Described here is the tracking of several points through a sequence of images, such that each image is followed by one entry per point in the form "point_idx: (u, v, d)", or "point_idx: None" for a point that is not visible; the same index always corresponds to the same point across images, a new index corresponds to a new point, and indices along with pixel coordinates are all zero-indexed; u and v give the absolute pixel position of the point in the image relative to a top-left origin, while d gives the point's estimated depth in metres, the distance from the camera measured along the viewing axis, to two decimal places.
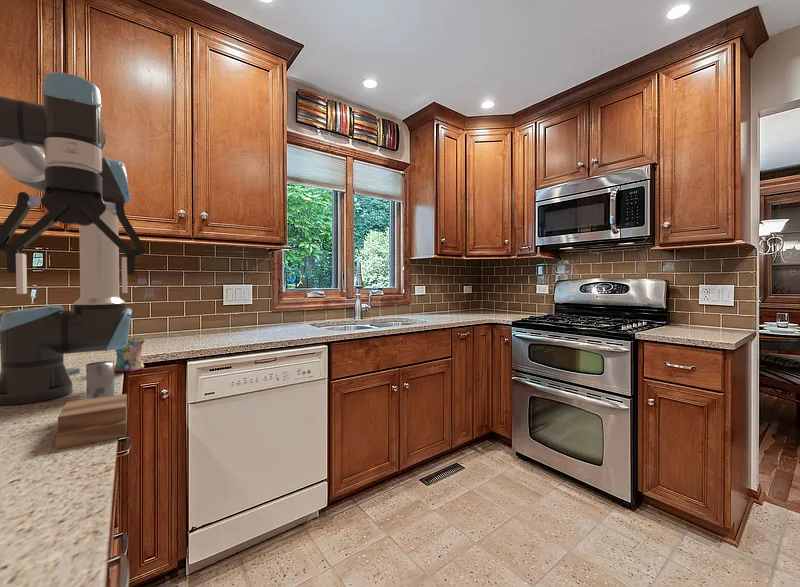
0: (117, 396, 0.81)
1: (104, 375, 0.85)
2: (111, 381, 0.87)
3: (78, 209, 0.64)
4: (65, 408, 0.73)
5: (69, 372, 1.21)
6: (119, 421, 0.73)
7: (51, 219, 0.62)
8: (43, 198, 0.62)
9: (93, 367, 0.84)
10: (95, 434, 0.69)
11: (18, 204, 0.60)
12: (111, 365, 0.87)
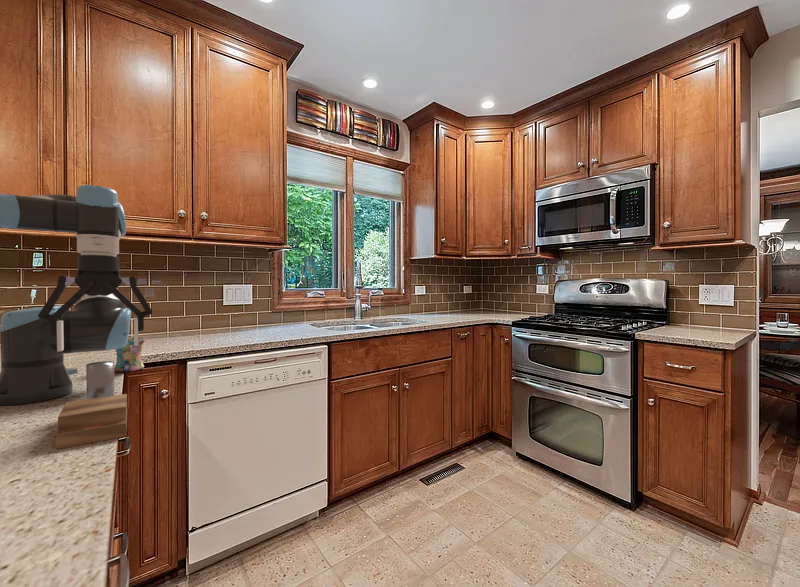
0: (117, 396, 0.81)
1: (104, 375, 0.85)
2: (111, 381, 0.87)
3: (101, 284, 0.86)
4: (65, 408, 0.73)
5: None
6: (119, 421, 0.73)
7: (82, 294, 0.83)
8: (76, 278, 0.83)
9: (93, 367, 0.84)
10: (95, 434, 0.69)
11: (58, 284, 0.81)
12: (111, 365, 0.87)
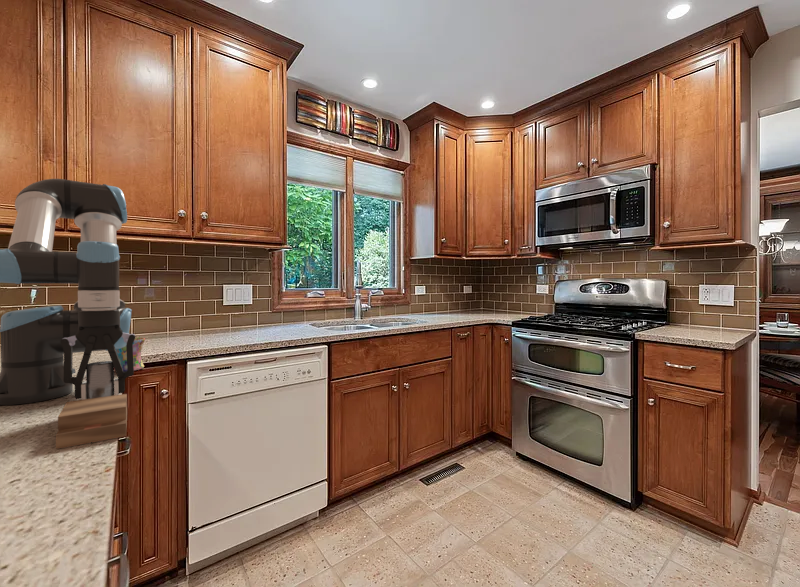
0: (117, 396, 0.81)
1: (104, 375, 0.85)
2: (111, 381, 0.87)
3: (102, 337, 0.86)
4: (65, 408, 0.73)
5: None
6: (119, 421, 0.73)
7: (90, 351, 0.84)
8: (77, 336, 0.83)
9: (93, 367, 0.84)
10: (95, 434, 0.69)
11: (64, 348, 0.82)
12: (111, 365, 0.87)
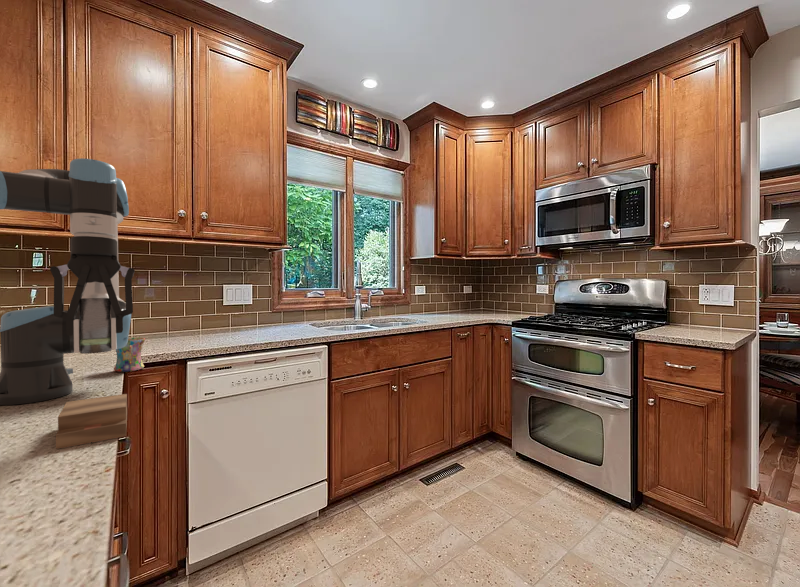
0: (117, 396, 0.81)
1: (100, 310, 0.76)
2: (107, 318, 0.77)
3: (97, 268, 0.77)
4: (65, 408, 0.73)
5: None
6: (119, 421, 0.73)
7: (84, 282, 0.75)
8: (69, 264, 0.74)
9: (87, 300, 0.75)
10: (95, 434, 0.69)
11: (54, 277, 0.73)
12: (107, 300, 0.77)
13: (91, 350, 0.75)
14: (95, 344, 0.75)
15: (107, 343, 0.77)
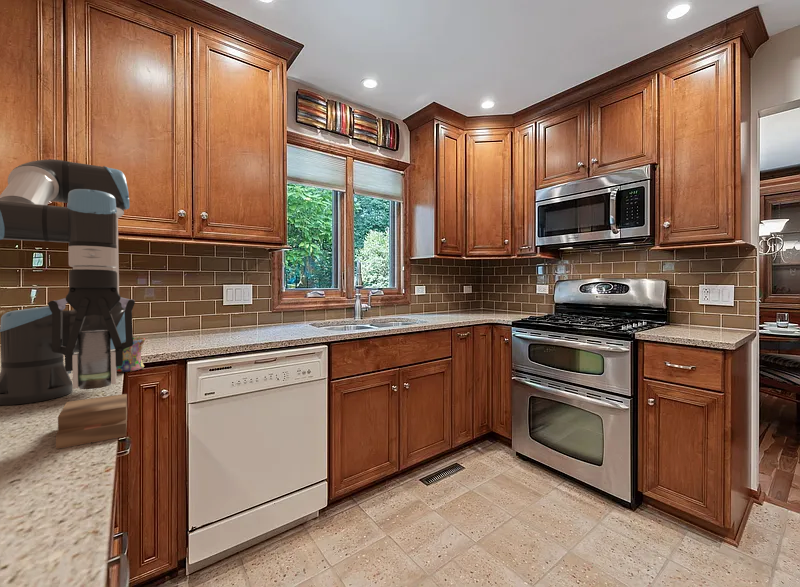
0: (117, 396, 0.81)
1: (99, 344, 0.74)
2: (107, 352, 0.75)
3: (96, 301, 0.75)
4: (65, 408, 0.73)
5: None
6: (119, 421, 0.73)
7: (83, 316, 0.73)
8: (67, 298, 0.72)
9: (86, 335, 0.73)
10: (95, 434, 0.69)
11: (53, 312, 0.71)
12: (107, 333, 0.75)
13: (90, 385, 0.73)
14: (94, 379, 0.73)
15: (107, 377, 0.75)
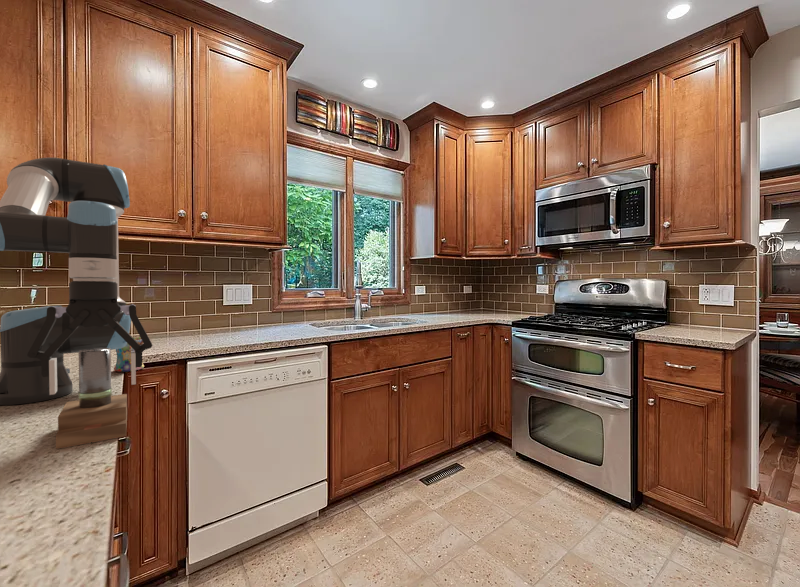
0: (117, 396, 0.81)
1: (99, 363, 0.74)
2: (107, 370, 0.76)
3: (97, 314, 0.75)
4: (65, 408, 0.73)
5: None
6: (119, 421, 0.73)
7: (76, 326, 0.72)
8: (68, 308, 0.72)
9: (87, 354, 0.73)
10: (95, 434, 0.69)
11: (47, 317, 0.70)
12: (107, 352, 0.76)
13: (90, 404, 0.73)
14: (94, 398, 0.74)
15: (107, 396, 0.75)
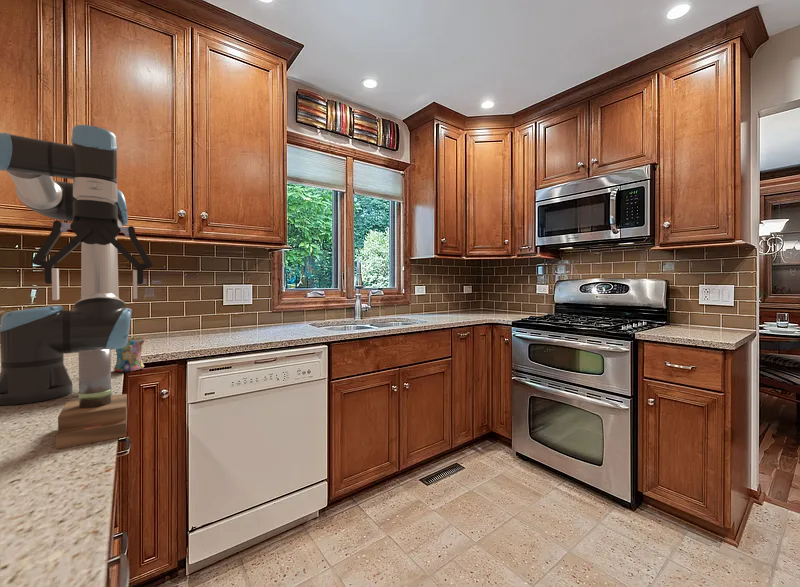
0: (117, 396, 0.81)
1: (99, 363, 0.74)
2: (107, 370, 0.76)
3: (99, 232, 0.81)
4: (65, 408, 0.73)
5: None
6: (119, 421, 0.73)
7: (78, 241, 0.79)
8: (72, 224, 0.79)
9: (86, 354, 0.73)
10: (95, 434, 0.69)
11: (53, 229, 0.77)
12: (107, 352, 0.76)
13: (90, 404, 0.73)
14: (94, 398, 0.74)
15: (107, 396, 0.75)
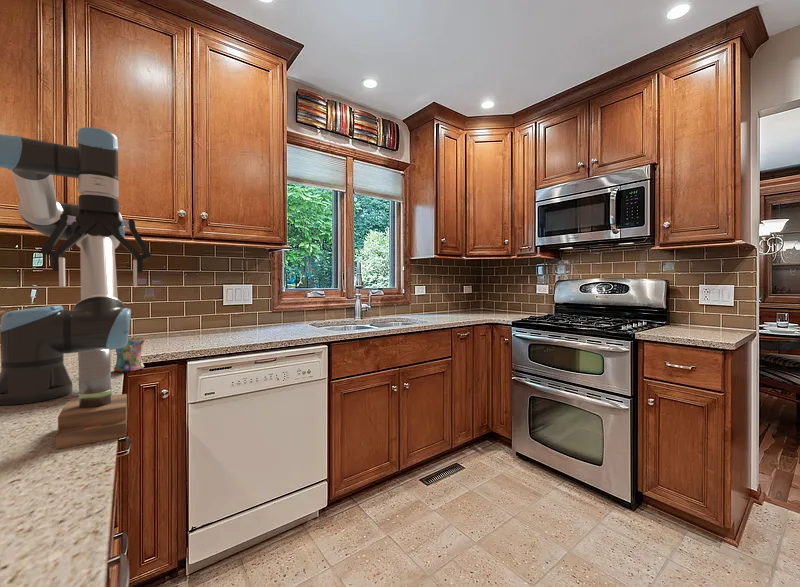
0: (117, 396, 0.81)
1: (99, 363, 0.74)
2: (107, 370, 0.76)
3: (102, 225, 0.89)
4: (65, 408, 0.73)
5: None
6: (119, 421, 0.73)
7: (83, 232, 0.86)
8: (77, 217, 0.86)
9: (86, 354, 0.73)
10: (95, 434, 0.69)
11: (60, 222, 0.84)
12: (107, 352, 0.76)
13: (90, 404, 0.73)
14: (94, 398, 0.74)
15: (107, 396, 0.75)
